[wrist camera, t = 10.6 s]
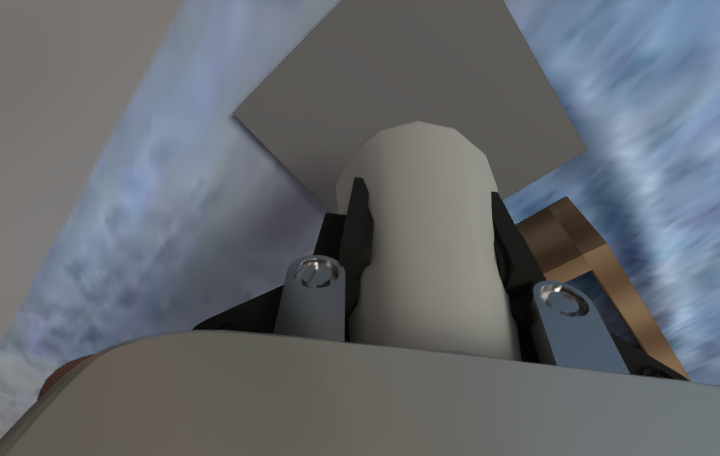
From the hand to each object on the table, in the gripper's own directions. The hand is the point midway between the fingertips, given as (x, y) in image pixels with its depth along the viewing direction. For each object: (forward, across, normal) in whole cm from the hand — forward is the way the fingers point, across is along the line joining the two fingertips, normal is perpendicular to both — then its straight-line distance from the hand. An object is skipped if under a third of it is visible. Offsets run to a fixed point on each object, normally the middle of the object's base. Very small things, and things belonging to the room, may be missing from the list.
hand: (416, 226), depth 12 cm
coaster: (+11, 0, 0) cm, 11 cm away
